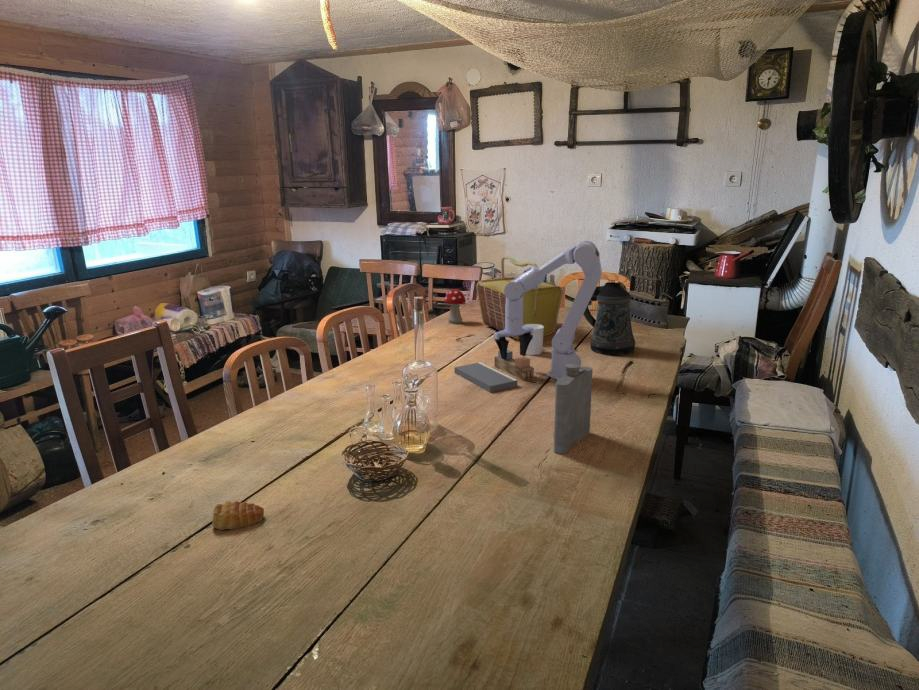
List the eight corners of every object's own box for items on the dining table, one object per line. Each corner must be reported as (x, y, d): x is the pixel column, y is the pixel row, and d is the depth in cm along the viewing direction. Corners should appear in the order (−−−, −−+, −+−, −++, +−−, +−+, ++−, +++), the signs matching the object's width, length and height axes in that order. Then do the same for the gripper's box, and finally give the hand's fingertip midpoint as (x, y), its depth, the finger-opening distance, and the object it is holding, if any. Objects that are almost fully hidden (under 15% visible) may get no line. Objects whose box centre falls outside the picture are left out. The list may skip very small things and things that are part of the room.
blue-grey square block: (512, 358, 208) (512, 351, 207) (503, 360, 206) (503, 353, 205) (506, 356, 211) (506, 349, 210) (498, 357, 209) (498, 350, 208)
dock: (517, 386, 192) (517, 380, 191) (490, 392, 187) (490, 385, 186) (479, 367, 210) (479, 362, 210) (454, 372, 205) (454, 366, 205)
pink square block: (529, 366, 199) (529, 359, 199) (520, 368, 198) (521, 360, 197) (523, 363, 202) (523, 356, 202) (514, 365, 201) (514, 358, 200)
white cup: (542, 349, 230) (543, 324, 227) (543, 356, 223) (544, 329, 220) (521, 349, 231) (522, 323, 228) (521, 355, 223) (522, 329, 221)
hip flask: (563, 455, 145) (566, 375, 140) (548, 451, 148) (550, 372, 142) (591, 432, 158) (595, 358, 152) (577, 428, 160) (580, 355, 155)
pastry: (265, 509, 124) (264, 492, 123) (262, 528, 118) (260, 510, 117) (217, 515, 123) (214, 498, 121) (211, 534, 116) (208, 516, 115)
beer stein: (639, 355, 221) (644, 287, 214) (585, 356, 222) (588, 288, 215) (628, 343, 237) (632, 279, 230) (578, 343, 237) (580, 279, 231)
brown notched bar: (533, 379, 199) (533, 367, 198) (523, 381, 197) (523, 369, 196) (504, 365, 213) (504, 354, 212) (494, 367, 211) (494, 356, 210)
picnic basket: (475, 326, 265) (474, 257, 257) (526, 320, 276) (527, 253, 267) (508, 343, 240) (508, 266, 232) (563, 335, 250) (566, 261, 242)
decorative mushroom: (469, 321, 274) (469, 288, 270) (459, 325, 267) (459, 292, 263) (451, 319, 279) (450, 286, 275) (440, 323, 272) (439, 289, 268)
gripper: (524, 312, 207) (524, 350, 211) (488, 317, 200) (488, 357, 204) (537, 316, 201) (536, 355, 205) (500, 321, 194) (500, 362, 198)
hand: (513, 357), depth 204 cm, fingers open, 7 cm apart
